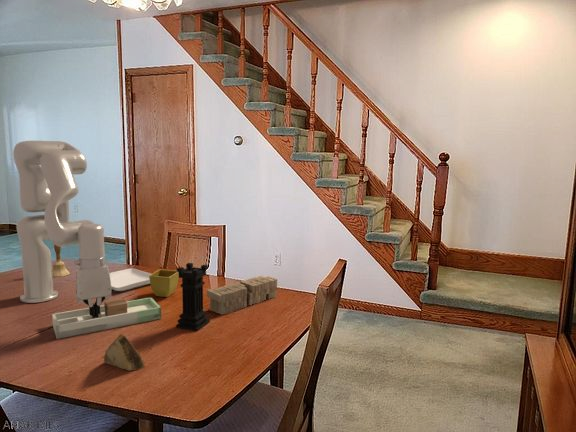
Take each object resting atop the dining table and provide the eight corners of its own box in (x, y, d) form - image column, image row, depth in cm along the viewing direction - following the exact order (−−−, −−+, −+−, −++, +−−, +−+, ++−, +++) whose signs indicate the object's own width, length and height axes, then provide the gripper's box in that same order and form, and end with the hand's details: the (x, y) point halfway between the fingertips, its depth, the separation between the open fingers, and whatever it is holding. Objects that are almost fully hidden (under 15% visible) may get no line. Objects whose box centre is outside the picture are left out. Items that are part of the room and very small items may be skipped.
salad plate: (131, 274, 202) (131, 267, 202) (161, 283, 190) (161, 275, 189) (87, 285, 185) (87, 277, 185) (117, 296, 173) (117, 287, 172)
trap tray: (52, 325, 144) (51, 313, 143) (151, 307, 161) (151, 297, 160) (56, 339, 134) (56, 326, 133) (161, 318, 151) (161, 307, 151)
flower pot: (169, 299, 170) (169, 277, 168) (149, 297, 171) (148, 275, 170) (179, 292, 178) (179, 270, 177) (159, 290, 180) (159, 269, 178)
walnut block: (104, 313, 149) (104, 300, 149) (123, 310, 153) (122, 297, 152) (108, 319, 144) (107, 306, 144) (127, 316, 148) (127, 303, 147)
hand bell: (55, 278, 192) (53, 242, 190) (45, 275, 197) (43, 240, 194) (73, 274, 199) (71, 239, 196) (63, 270, 203) (61, 237, 201)
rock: (91, 356, 119) (103, 366, 111) (109, 327, 122) (121, 334, 114) (125, 370, 125) (139, 380, 117) (141, 341, 128) (155, 350, 120)
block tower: (263, 294, 181) (205, 310, 160) (264, 274, 180) (205, 288, 159) (277, 299, 176) (219, 316, 154) (278, 279, 175) (219, 293, 153)
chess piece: (209, 322, 149) (209, 264, 146) (197, 331, 142) (196, 271, 139) (189, 318, 152) (188, 262, 149) (176, 327, 145) (174, 268, 141)
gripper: (68, 268, 135) (71, 325, 138) (119, 262, 143) (121, 316, 146) (65, 262, 141) (68, 317, 144) (114, 257, 149) (116, 308, 152)
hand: (95, 316), depth 145 cm, fingers closed
